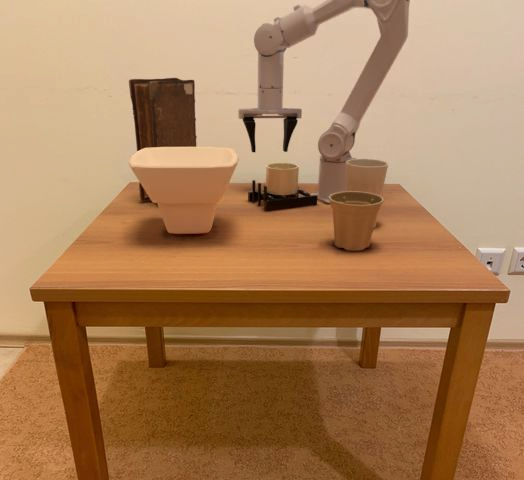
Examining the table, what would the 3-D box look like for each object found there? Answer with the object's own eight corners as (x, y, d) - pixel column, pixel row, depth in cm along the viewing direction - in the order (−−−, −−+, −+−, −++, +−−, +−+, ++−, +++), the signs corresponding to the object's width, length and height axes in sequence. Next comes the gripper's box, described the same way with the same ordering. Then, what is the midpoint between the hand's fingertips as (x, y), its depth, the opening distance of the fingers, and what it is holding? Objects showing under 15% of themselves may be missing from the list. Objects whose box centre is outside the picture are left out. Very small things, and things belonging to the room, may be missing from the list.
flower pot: (345, 257, 87) (350, 207, 83) (315, 241, 94) (318, 194, 90) (388, 249, 91) (395, 200, 87) (356, 234, 98) (361, 188, 94)
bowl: (241, 246, 92) (240, 165, 85) (132, 248, 91) (121, 166, 83) (238, 216, 108) (237, 146, 101) (145, 217, 107) (137, 146, 99)
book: (187, 188, 128) (180, 76, 116) (209, 192, 125) (204, 77, 112) (137, 202, 117) (123, 79, 104) (159, 207, 113) (148, 80, 100)
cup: (387, 224, 104) (396, 162, 98) (366, 233, 99) (373, 168, 93) (355, 216, 109) (361, 157, 103) (332, 224, 104) (337, 162, 98)
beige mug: (303, 193, 115) (304, 167, 112) (274, 196, 112) (274, 170, 109) (281, 182, 123) (282, 158, 120) (254, 185, 121) (254, 161, 118)
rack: (296, 195, 124) (297, 174, 121) (317, 205, 116) (318, 182, 114) (247, 201, 119) (247, 178, 116) (265, 211, 111) (266, 188, 109)
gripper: (240, 88, 111) (241, 154, 118) (305, 88, 112) (302, 153, 119) (236, 86, 117) (237, 149, 124) (299, 86, 118) (296, 148, 125)
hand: (269, 151), depth 122 cm, fingers open, 7 cm apart
